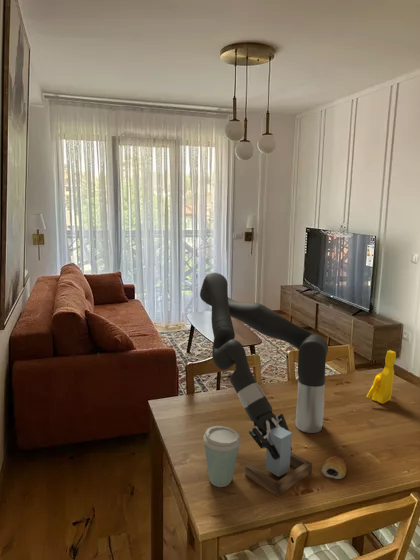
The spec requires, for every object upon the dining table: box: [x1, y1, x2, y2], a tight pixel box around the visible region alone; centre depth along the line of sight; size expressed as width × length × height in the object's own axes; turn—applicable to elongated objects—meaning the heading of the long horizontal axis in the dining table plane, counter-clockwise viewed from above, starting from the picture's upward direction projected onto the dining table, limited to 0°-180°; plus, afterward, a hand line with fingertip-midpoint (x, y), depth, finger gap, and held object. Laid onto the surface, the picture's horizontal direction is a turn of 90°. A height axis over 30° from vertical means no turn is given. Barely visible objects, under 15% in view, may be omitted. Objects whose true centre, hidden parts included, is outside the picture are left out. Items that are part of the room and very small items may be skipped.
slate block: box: [265, 427, 293, 478], centre depth 124 cm, size 5×5×12 cm
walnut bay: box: [244, 451, 313, 497], centre depth 125 cm, size 16×12×3 cm
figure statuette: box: [365, 349, 397, 405], centre depth 173 cm, size 18×8×22 cm, turn 131°
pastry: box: [320, 455, 347, 480], centre depth 128 cm, size 9×7×4 cm
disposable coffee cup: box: [202, 425, 242, 488], centre depth 120 cm, size 11×11×15 cm
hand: (283, 454), depth 123 cm, fingers closed on slate block, 5 cm apart
